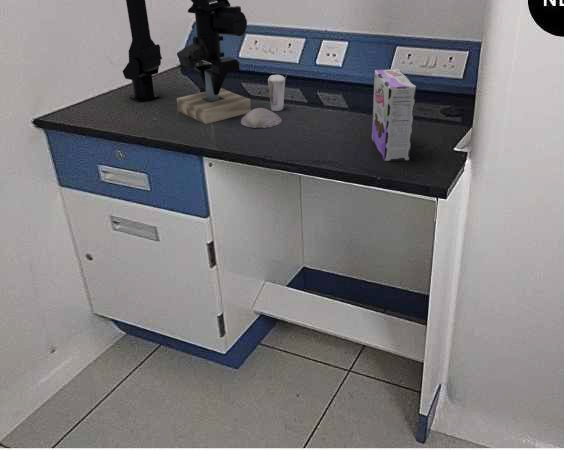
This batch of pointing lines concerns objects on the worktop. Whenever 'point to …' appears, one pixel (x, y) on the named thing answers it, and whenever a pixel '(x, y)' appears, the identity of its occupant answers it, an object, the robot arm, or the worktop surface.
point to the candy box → (392, 114)
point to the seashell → (260, 118)
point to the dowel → (210, 89)
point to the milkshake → (276, 91)
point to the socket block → (213, 106)
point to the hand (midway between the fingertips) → (212, 93)
